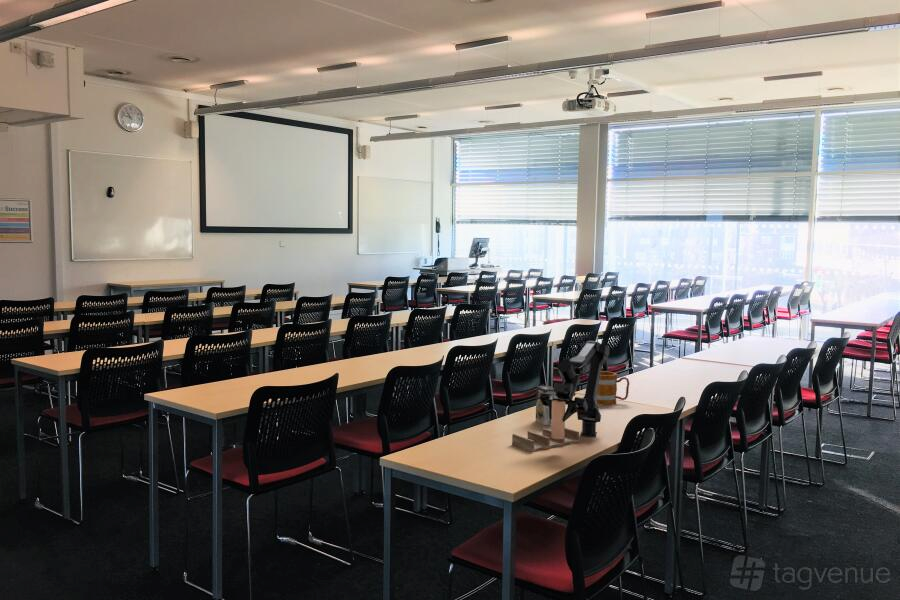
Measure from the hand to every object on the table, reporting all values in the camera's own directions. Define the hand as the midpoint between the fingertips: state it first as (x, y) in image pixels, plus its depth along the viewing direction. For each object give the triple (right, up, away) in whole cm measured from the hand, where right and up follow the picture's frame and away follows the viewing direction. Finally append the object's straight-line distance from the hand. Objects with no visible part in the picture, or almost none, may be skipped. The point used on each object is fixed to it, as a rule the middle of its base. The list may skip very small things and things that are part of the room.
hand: (556, 420), depth 283 cm
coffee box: (+2, -9, +49) cm, 50 cm away
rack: (-2, -12, +15) cm, 20 cm away
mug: (+40, -6, +92) cm, 101 cm away
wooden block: (+1, -7, +2) cm, 7 cm away
